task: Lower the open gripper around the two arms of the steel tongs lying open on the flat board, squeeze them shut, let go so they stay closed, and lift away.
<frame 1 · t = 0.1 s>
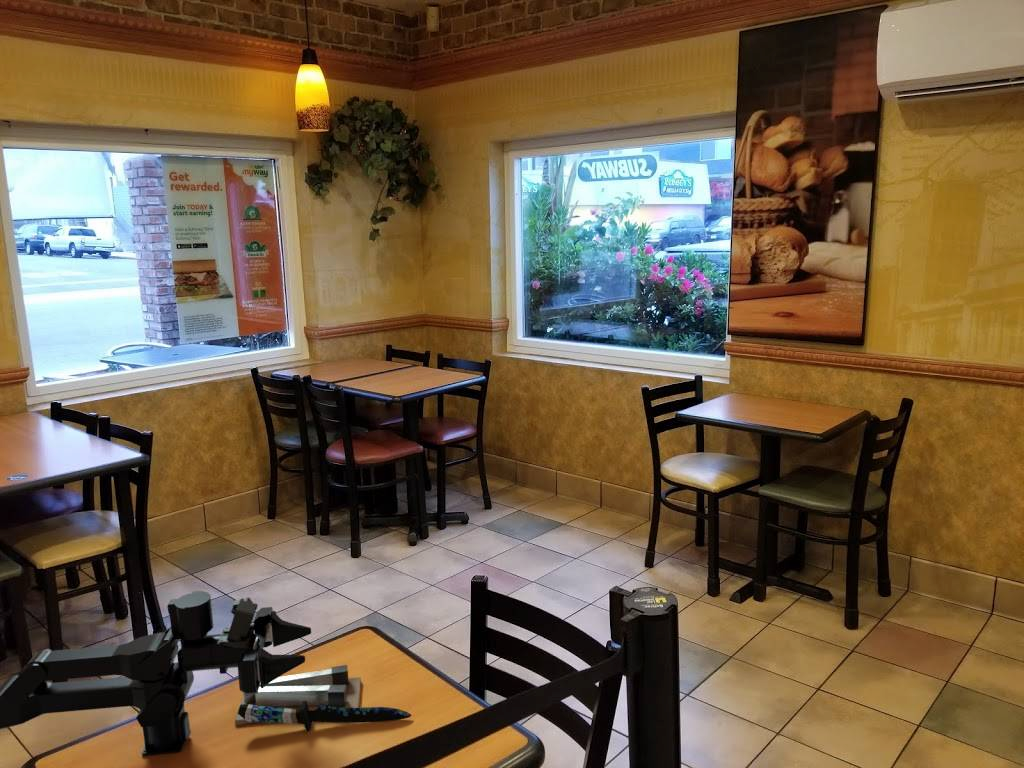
hand: (308, 644, 135), 17 cm above the table, tool horizontal, fingers open, 9 cm apart
tong arm 1: (301, 696, 143), point 3 cm above the table, hinge at 7.0°
tong hinge: (251, 707, 145), resting on flat board
knife: (326, 727, 139), on the table
tong arm 2: (304, 681, 148), point 3 cm above the table, hinge at 7.0°
flat board: (300, 702, 146), on the table
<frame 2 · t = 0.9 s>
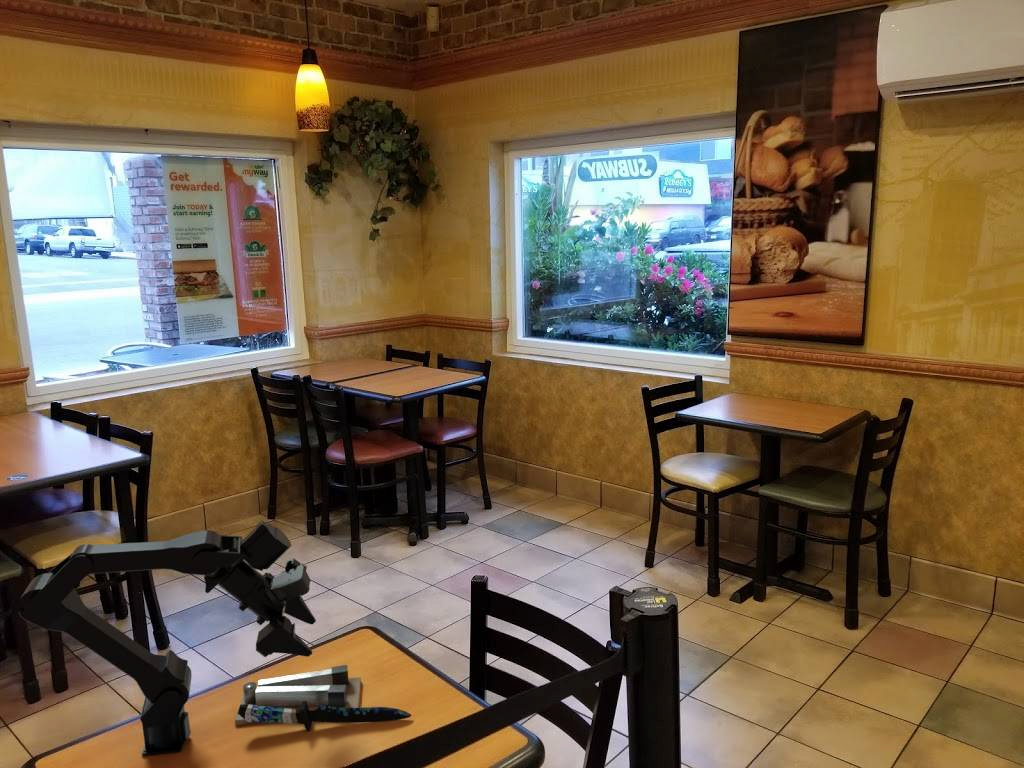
hand: (312, 638, 140), 15 cm above the table, tool tilted 40°, fingers open, 9 cm apart
nothing on the table moved.
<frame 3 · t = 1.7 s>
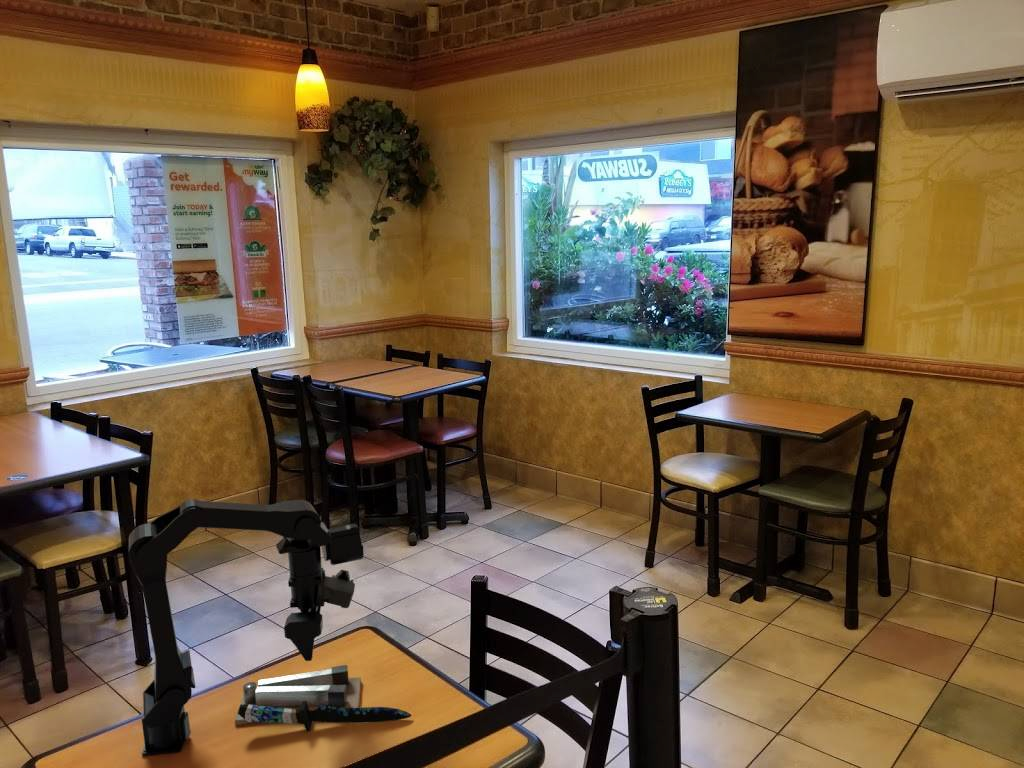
hand: (311, 646, 144), 11 cm above the table, tool pointing down, fingers open, 9 cm apart
nothing on the table moved.
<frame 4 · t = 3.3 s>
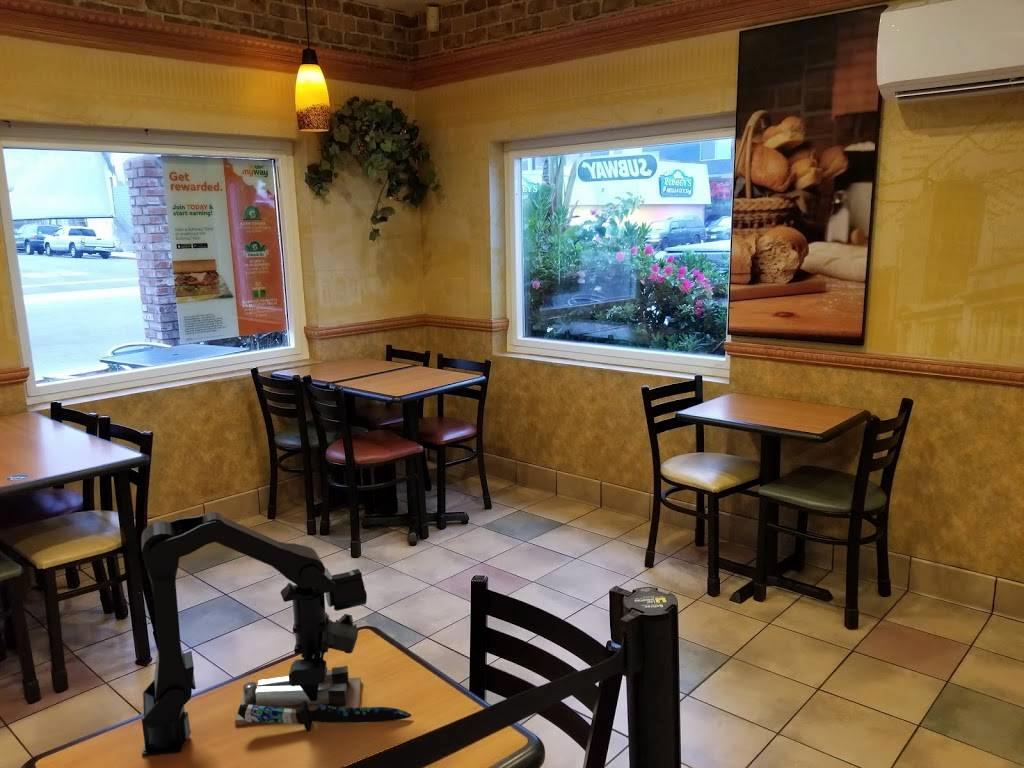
hand: (315, 690, 146), 2 cm above the table, tool pointing down, fingers open, 6 cm apart
tong arm 1: (301, 695, 143), point 3 cm above the table, hinge at 5.7°, touching gripper
tong arm 2: (304, 682, 148), point 3 cm above the table, hinge at 5.8°, touching gripper
everything else where it was.
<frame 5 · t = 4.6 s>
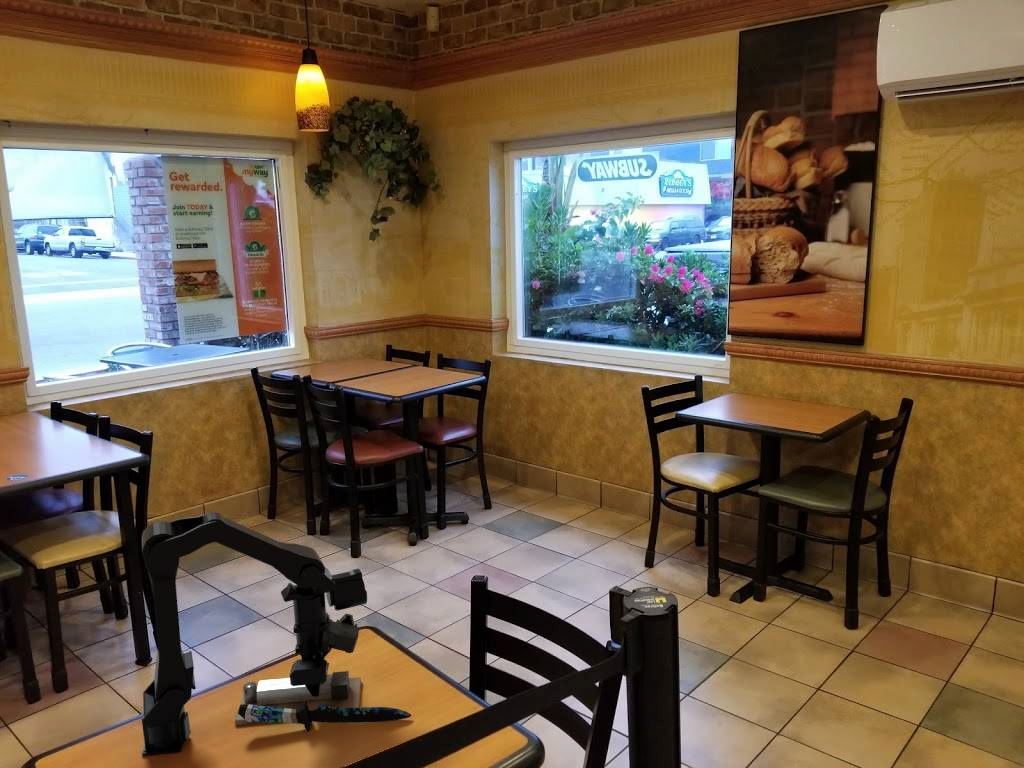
hand: (316, 690, 146), 2 cm above the table, tool pointing down, fingers open, 3 cm apart
tong arm 1: (303, 692, 144), point 3 cm above the table, hinge at -0.4°, touching gripper
tong arm 2: (304, 685, 147), point 3 cm above the table, hinge at -0.2°, touching gripper
everything else where it was.
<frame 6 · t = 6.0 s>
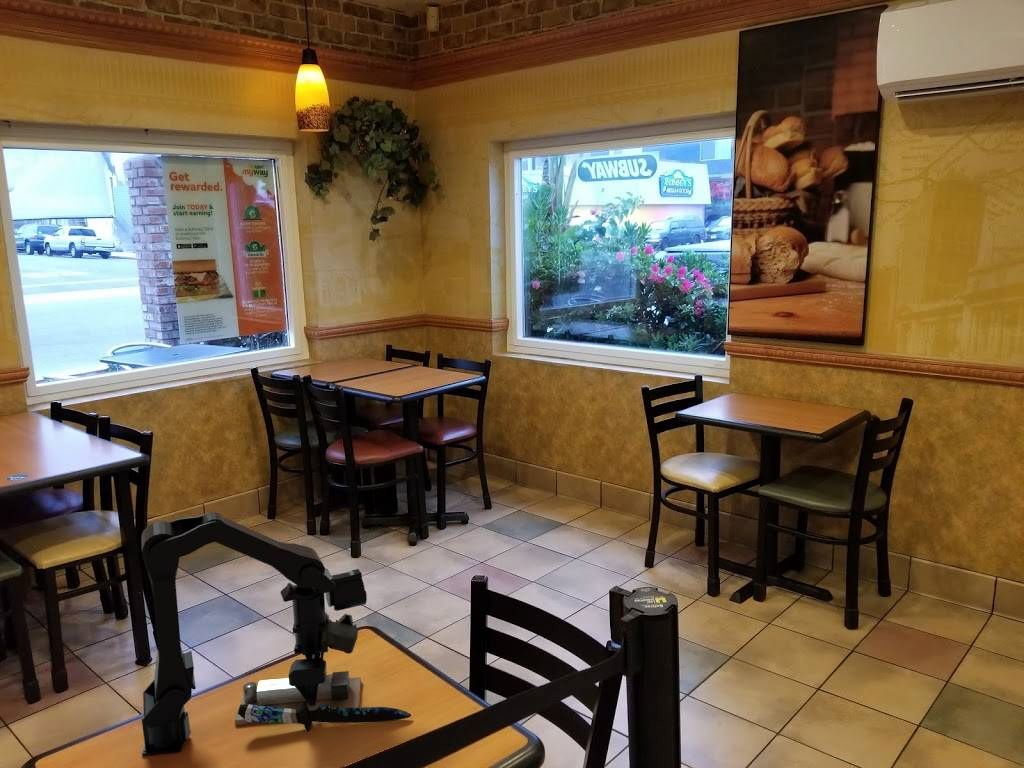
hand: (315, 690, 146), 2 cm above the table, tool pointing down, fingers open, 9 cm apart
tong arm 1: (303, 692, 144), point 3 cm above the table, hinge at -0.4°
tong arm 2: (304, 685, 147), point 3 cm above the table, hinge at -0.2°
everything else where it was.
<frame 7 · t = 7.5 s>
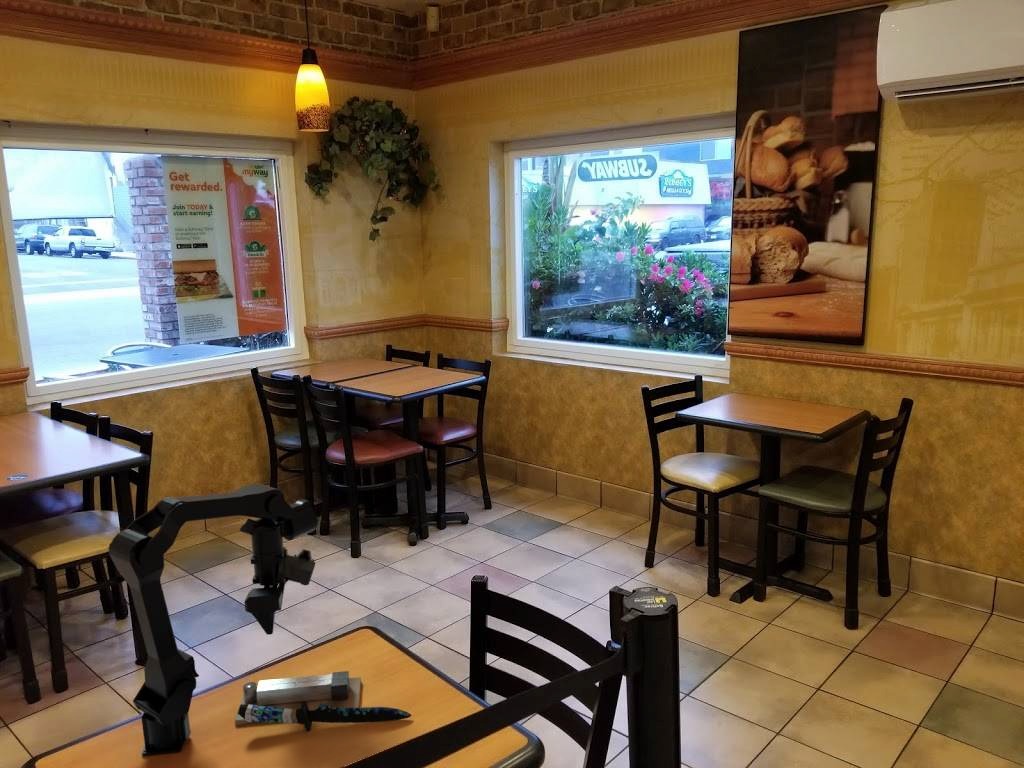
hand: (274, 621, 152), 12 cm above the table, tool pointing down, fingers open, 9 cm apart
nothing on the table moved.
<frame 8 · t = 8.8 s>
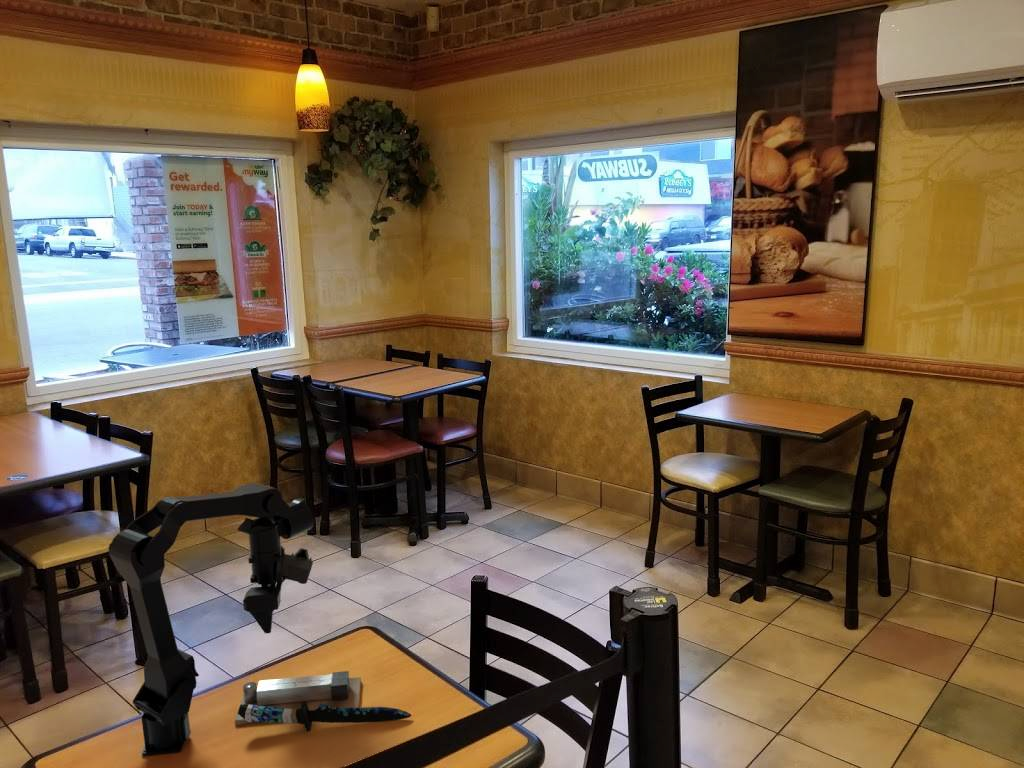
hand: (271, 620, 152), 12 cm above the table, tool pointing down, fingers open, 9 cm apart
nothing on the table moved.
at the end: tong arm 2 at +0° (first picture: +7°); tong arm 1 at +0° (first picture: +7°) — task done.
